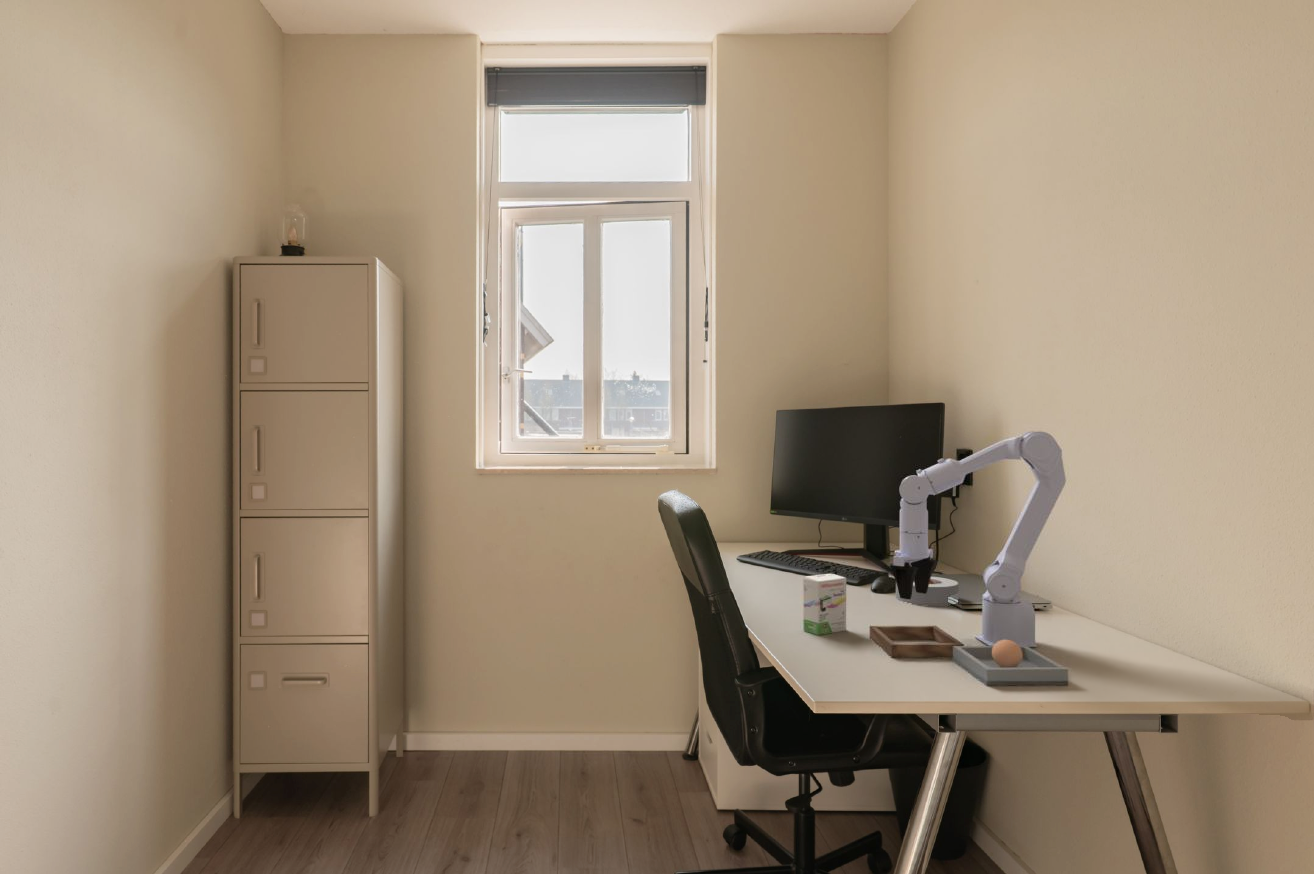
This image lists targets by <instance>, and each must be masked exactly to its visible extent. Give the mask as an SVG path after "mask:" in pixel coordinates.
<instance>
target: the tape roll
mask: <svg viewBox="0 0 1314 874" xmlns="http://www.w3.org/2000/svg"><path fill="white" fill-rule="evenodd" d="M959 591H960V590H959V582H958V581H956V580H953V579H951V578H950V579H949V578H944V577H939V576H931V578H930V582H929V586H928V590H927V593H926V594H924V593H917V592H916V589H915V581H914V582H913V589H912V596H911V599H903V598H900V595H899V591H898V587H897V583H896V582H895V599H896V598H897V599H898V600H897V599H896V600H897V601H899V600H900V601H899V602H901V601H903V602H902V603H904V602H907V603H906V604H908V603H913V604H912V605H914V604H917V605H916V606H921V605H928V606H927V607H949V606H948V605H949V602H948V597H950V596H951V595H955V594H957V593H958V592H959Z"/></svg>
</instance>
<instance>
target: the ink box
mask: <svg viewBox="0 0 1314 874" xmlns="http://www.w3.org/2000/svg"><path fill="white" fill-rule="evenodd" d="M802 585H803V588H802V589H803V592H802V593H803V597H802V598H803V599H802V600H803V602H802V603H803V604H802V605H803V612H802V613H803V617H802V618H803V631H804V632H807V633H810V634H813V635H817V636H822V634H823V635H829V634H834V633H837V631H839V632H844V631H847V577H844V576H842V575H838V574H835V573H825V574H815V575H807V576H805V577H803V583H802Z"/></svg>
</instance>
